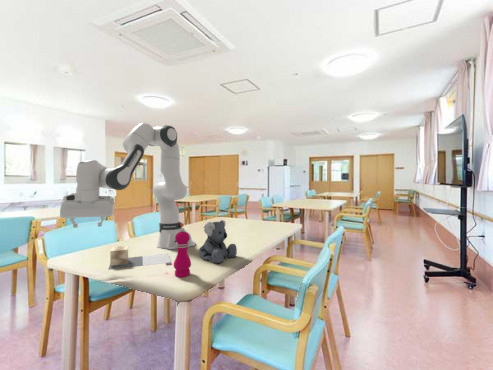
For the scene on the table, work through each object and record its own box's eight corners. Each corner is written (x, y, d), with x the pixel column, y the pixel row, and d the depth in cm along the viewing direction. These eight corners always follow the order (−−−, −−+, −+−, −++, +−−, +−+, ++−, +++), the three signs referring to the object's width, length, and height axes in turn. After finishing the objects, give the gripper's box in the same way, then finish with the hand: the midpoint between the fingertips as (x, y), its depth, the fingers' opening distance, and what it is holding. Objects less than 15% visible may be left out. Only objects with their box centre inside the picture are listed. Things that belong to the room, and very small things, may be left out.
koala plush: (218, 265, 120) (218, 224, 119) (191, 258, 130) (191, 220, 129) (239, 256, 134) (239, 219, 134) (213, 250, 144) (213, 216, 144)
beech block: (128, 260, 124) (128, 245, 123) (127, 264, 117) (127, 249, 117) (111, 261, 121) (111, 247, 121) (110, 266, 114) (110, 251, 114)
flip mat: (167, 255, 135) (167, 253, 135) (171, 264, 121) (171, 262, 121) (111, 261, 124) (111, 259, 124) (108, 271, 111) (108, 269, 111)
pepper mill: (175, 271, 112) (175, 226, 111) (192, 271, 112) (192, 226, 112) (172, 278, 104) (172, 229, 104) (189, 277, 105) (189, 229, 105)
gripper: (114, 195, 120) (114, 224, 121) (62, 196, 112) (62, 227, 113) (113, 196, 114) (113, 226, 115) (58, 196, 106) (58, 229, 107)
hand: (87, 227), depth 114 cm, fingers open, 8 cm apart
